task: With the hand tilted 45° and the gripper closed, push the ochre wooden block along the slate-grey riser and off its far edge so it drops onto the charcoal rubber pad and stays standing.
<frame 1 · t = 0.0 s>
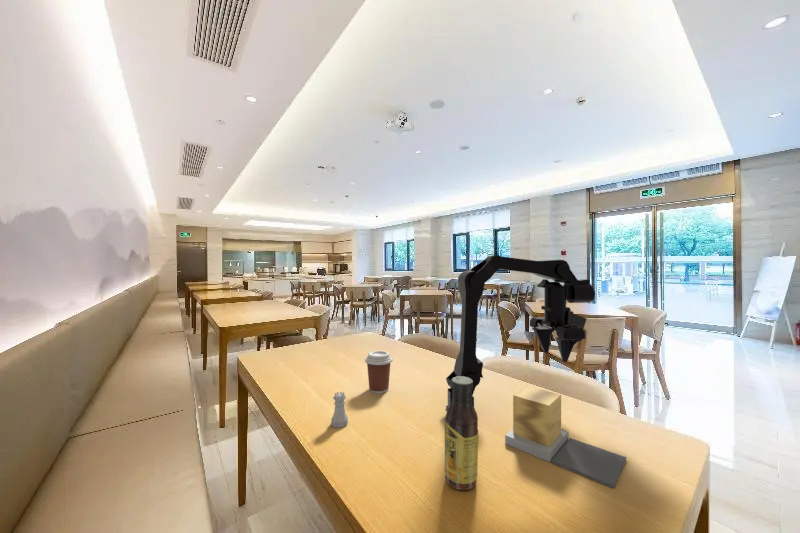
hand: (555, 357, 93), 15 cm above the table, tool pointing down, fingers open, 9 cm apart
sauce bottle: (461, 483, 61), on the table
rubber pad: (589, 461, 67), on the table
riser: (537, 441, 75), on the table
coffee cup: (378, 390, 107), on the table
ochre block: (537, 433, 75), point 2 cm above the table, touching riser
rook chess piece: (339, 424, 84), on the table
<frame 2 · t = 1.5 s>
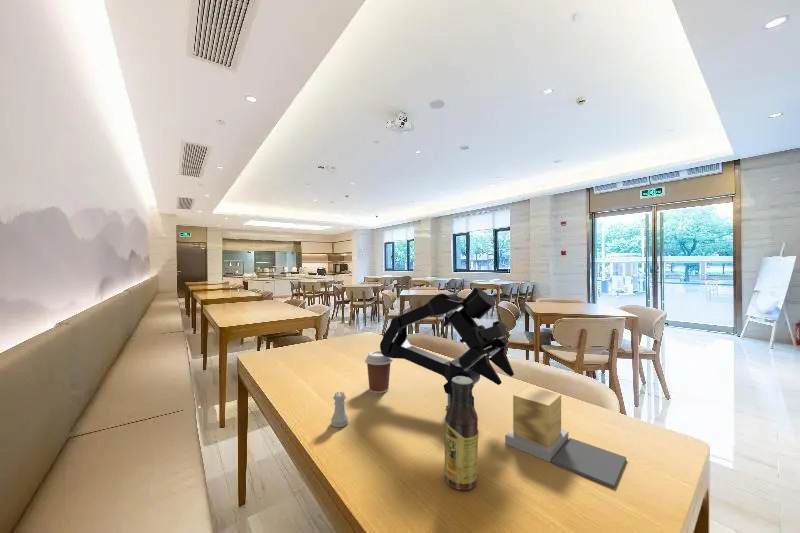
hand: (506, 379, 81), 12 cm above the table, tool tilted 45°, fingers open, 7 cm apart
nothing on the table moved.
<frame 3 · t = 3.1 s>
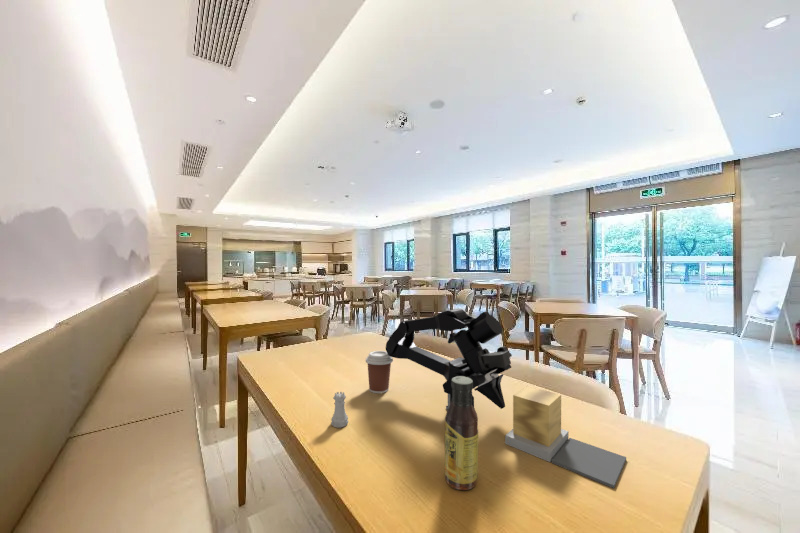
hand: (503, 407, 81), 5 cm above the table, tool tilted 35°, fingers closed
coffee cup: (378, 390, 107), on the table, touching arm
everything else where it was.
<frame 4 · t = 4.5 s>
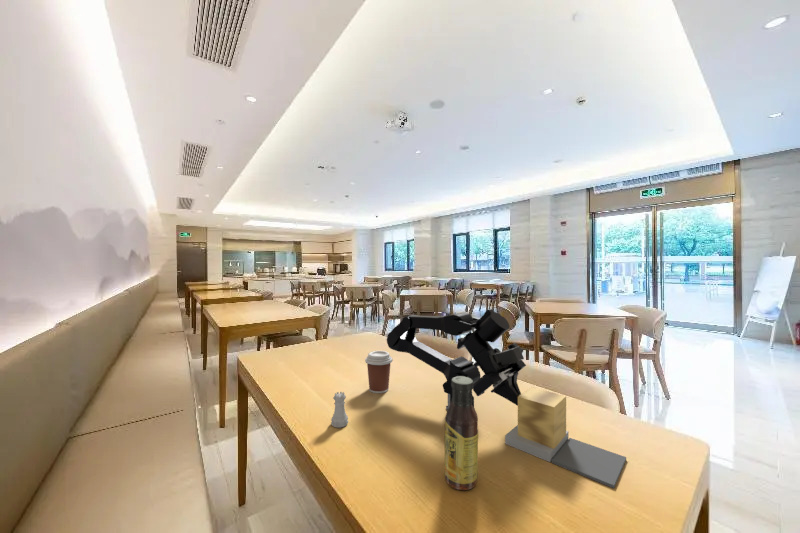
hand: (523, 406, 77), 7 cm above the table, tool tilted 45°, fingers closed, pressing on ochre block
coffee cup: (378, 390, 107), on the table
ochre block: (541, 434, 74), point 2 cm above the table, touching gripper, riser
everything else where it was.
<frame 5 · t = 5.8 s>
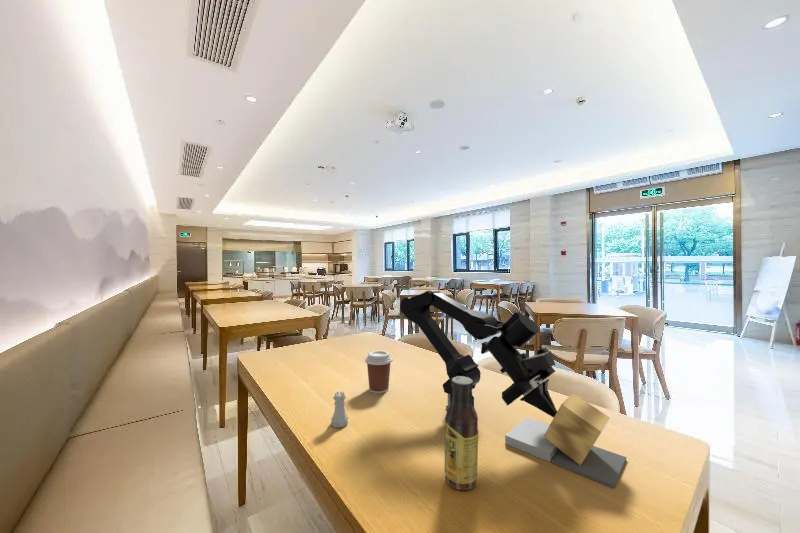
hand: (556, 416, 72), 7 cm above the table, tool tilted 45°, fingers closed, pressing on ochre block
ochre block: (567, 442, 71), point 2 cm above the table, tilted 24°, touching gripper
everything else where it was.
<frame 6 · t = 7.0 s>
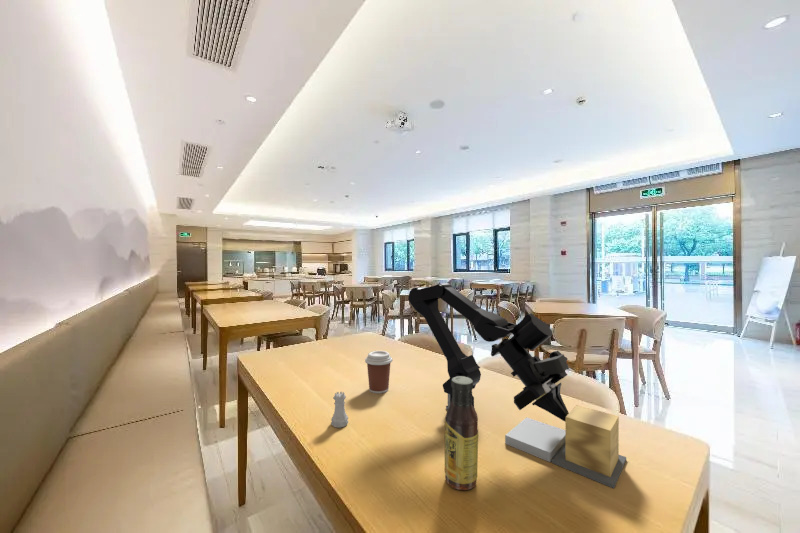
hand: (569, 421, 70), 7 cm above the table, tool tilted 45°, fingers closed, pressing on ochre block
ochre block: (592, 459, 67), point 1 cm above the table, touching gripper, rubber pad
everything else where it was.
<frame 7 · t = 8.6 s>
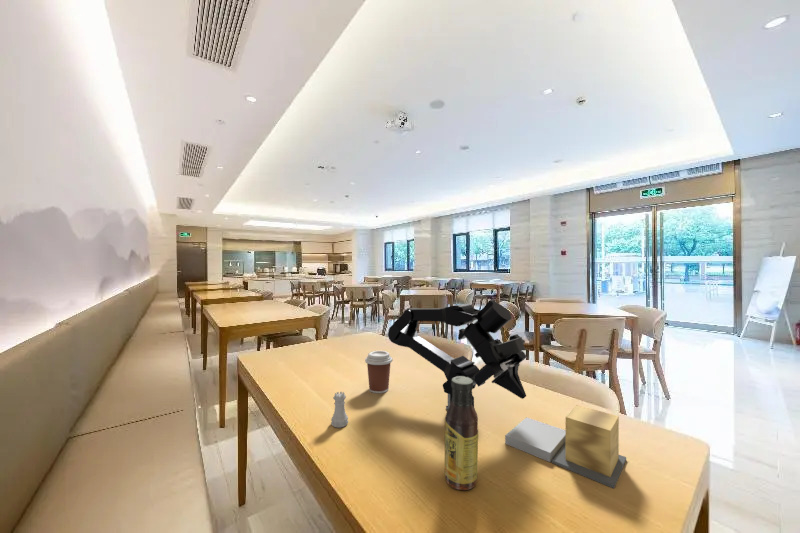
hand: (524, 397, 77), 9 cm above the table, tool tilted 45°, fingers closed
ochre block: (592, 459, 67), point 1 cm above the table, touching rubber pad
everything else where it was.
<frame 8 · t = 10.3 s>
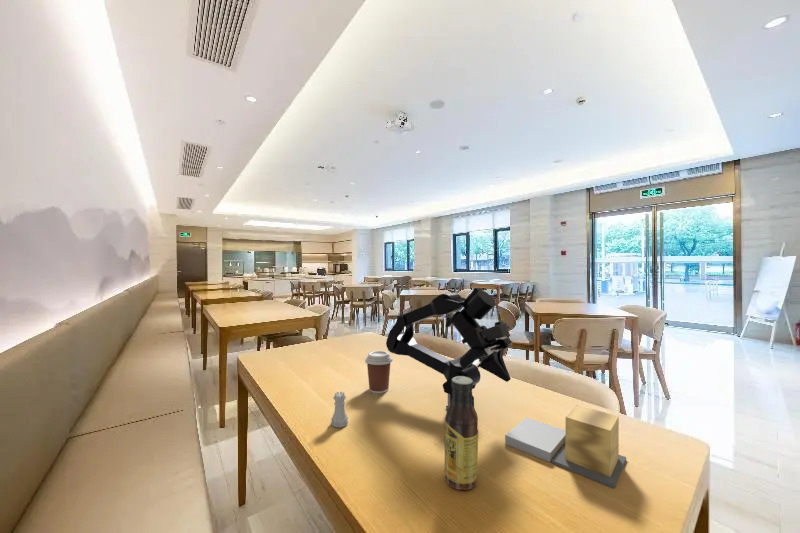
hand: (508, 380, 80), 13 cm above the table, tool tilted 45°, fingers closed
nothing on the table moved.
at the end: ochre block 0.5 cm from the rubber pad (horizontally); ochre block point 0.6 cm above the table; ochre block tilted 0° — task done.
